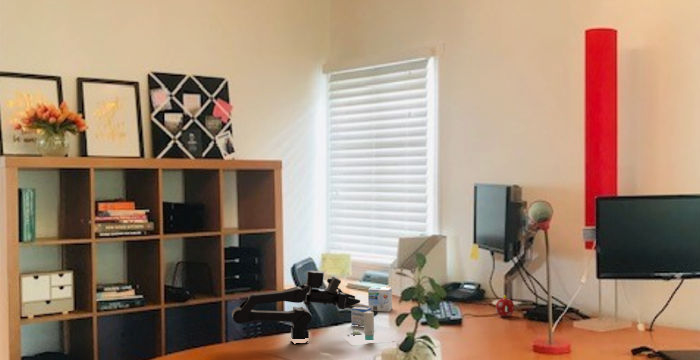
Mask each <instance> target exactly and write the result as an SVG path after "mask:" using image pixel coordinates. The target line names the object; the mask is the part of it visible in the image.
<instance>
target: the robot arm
mask: <svg viewBox="0 0 700 360" xmlns="http://www.w3.org/2000/svg"><path fill="white" fill-rule="evenodd" d="M324 274H325V272H324V271H321V270H310V271H309V270H307V273H306V275H307V277H306V282H304V283H303V284H301V285H299V286H293V287H290V288H287V289H285V290H280V291H279V290H278V291H271V292H260V293H259V292H258V293H250V294H249V295H248V296H247V297H246V298H245V300H243V302H242V303H240V305H239V306H236V307H235V308H233V310H232V312H231V317H232V319H233V321H234V322H235V323H236V324H238V325H242V324H248V323H252V322H257V321H258V322H285V323H286V322H288V323H291V327H290V334H291V335H290V336H291V337H290V339H291V338H292V339H305V338H309V339H310V337H309V335H310V333H309V329H308V325H309V324H310V323H311V321H312V318H313V317H312V315H311V313H310V312H309V311H308V310H307V309H306V308H304V307H303V306H301V307H296V306H293V307H292V310H288V311H287V310H286V311H285V310H282V311H281V310H255V309H254V308H255V306H256V305H260V304H270V303H280V302H288V303H296V304H297V303H298V304H300V303H303V304H304V305H306V306H307V308H310V307H311V304H312V303H313V304H323V306H325V305H332V306H336V307H337V308H338V309H339V310H345V309H348V308H349V307H352V306H355V305H357V304H360V303H361V299H359V298H356V295H353V294H349V293H346V292H344V291H343V290H342V289H341V288H340V287H339V286H340V285H341V283H342V280H341V279H339V278H337V277H335V276H331V277H328V278H327V280H326V282H327V288H325V287H324V288H323V289H320V288H321V287H323V285H324V284H323V283H324Z"/></svg>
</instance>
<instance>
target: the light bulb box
mask: <svg viewBox="0 0 700 360" xmlns="http://www.w3.org/2000/svg"><path fill="white" fill-rule="evenodd" d="M367 294H368V296H367V297H368V307H367V308H371V312H374V311H375V312H391V310H392V309H393V288H392V287H391V286H389V287H388V286H387V287H385V286H371V287H369V288H368V293H367Z"/></svg>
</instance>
